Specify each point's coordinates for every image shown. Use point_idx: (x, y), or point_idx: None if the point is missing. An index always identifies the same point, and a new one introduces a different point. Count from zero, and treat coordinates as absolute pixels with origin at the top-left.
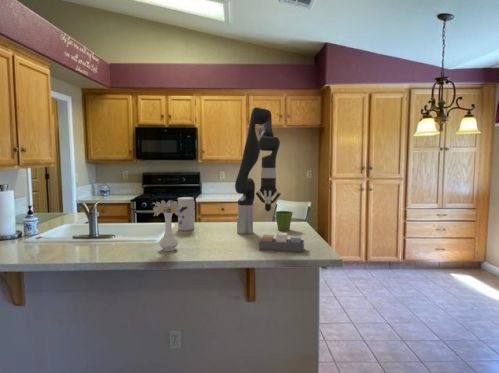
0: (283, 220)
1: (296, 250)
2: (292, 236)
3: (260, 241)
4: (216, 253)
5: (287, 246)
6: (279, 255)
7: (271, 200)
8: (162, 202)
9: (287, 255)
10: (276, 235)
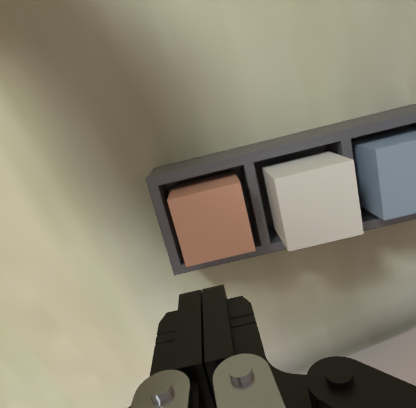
0: None
1: None
2: (388, 166)
3: (182, 270)
4: (14, 382)
5: None
6: (311, 289)
7: (284, 403)
8: None
9: (349, 273)
10: (288, 248)
